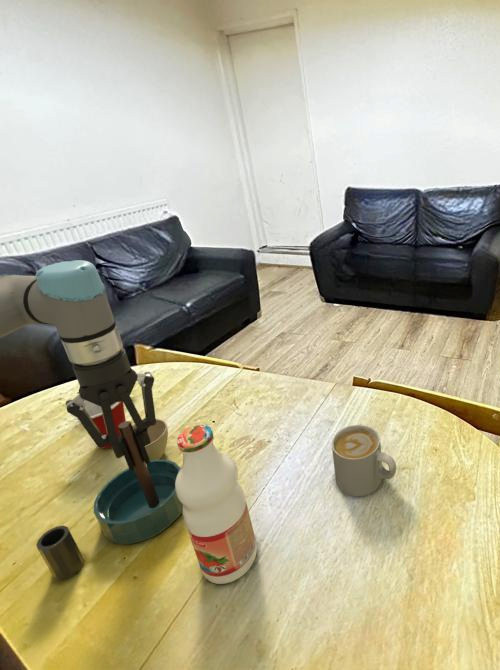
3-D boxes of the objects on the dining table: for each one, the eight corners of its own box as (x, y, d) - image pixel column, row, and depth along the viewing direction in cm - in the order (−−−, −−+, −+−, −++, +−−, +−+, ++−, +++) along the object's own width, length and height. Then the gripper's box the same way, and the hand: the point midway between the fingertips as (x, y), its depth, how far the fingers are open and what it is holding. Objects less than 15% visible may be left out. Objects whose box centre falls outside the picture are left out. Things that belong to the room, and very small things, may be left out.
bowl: (84, 544, 76) (73, 522, 74) (135, 479, 90) (127, 458, 88) (162, 548, 75) (153, 525, 73) (202, 481, 89) (195, 460, 86)
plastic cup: (82, 441, 102) (65, 402, 97) (130, 420, 109) (116, 382, 104) (92, 464, 95) (74, 423, 90) (143, 439, 101) (129, 400, 97)
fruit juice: (265, 563, 72) (235, 438, 60) (210, 598, 67) (165, 469, 55) (247, 525, 79) (217, 406, 67) (196, 553, 74) (154, 431, 62)
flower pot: (158, 436, 102) (150, 413, 99) (183, 450, 97) (176, 427, 95) (117, 463, 95) (107, 439, 92) (142, 480, 90) (133, 455, 87)
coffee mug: (326, 483, 87) (321, 446, 83) (355, 453, 94) (352, 418, 90) (377, 512, 80) (375, 474, 76) (404, 478, 87) (403, 441, 83)
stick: (146, 508, 81) (115, 428, 73) (152, 499, 83) (122, 420, 74) (156, 508, 81) (126, 428, 73) (161, 500, 83) (133, 420, 74)
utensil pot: (47, 580, 70) (29, 549, 67) (67, 555, 75) (51, 524, 71) (71, 581, 70) (54, 550, 67) (90, 556, 74) (75, 525, 71)
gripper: (43, 382, 61) (95, 497, 70) (153, 346, 69) (186, 453, 79) (39, 363, 66) (88, 472, 75) (142, 331, 75) (174, 433, 84)
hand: (138, 462), depth 77 cm, fingers closed on stick, 2 cm apart
